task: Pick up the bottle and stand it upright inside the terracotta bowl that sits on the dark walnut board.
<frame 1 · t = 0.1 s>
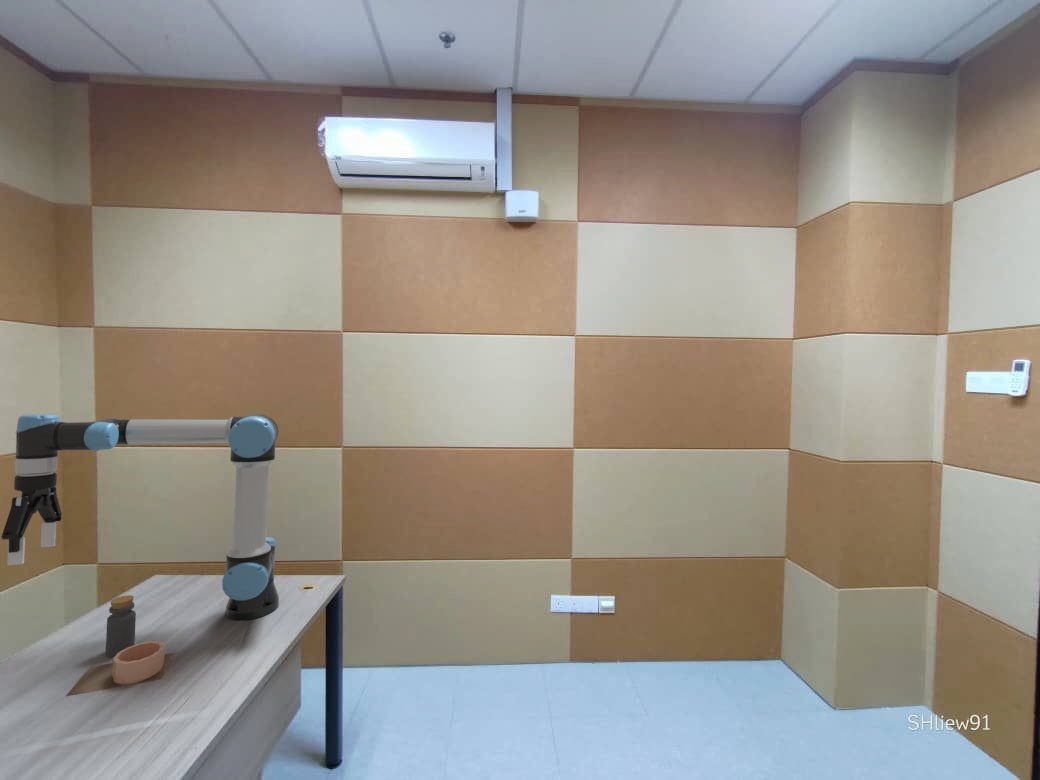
hand: (32, 555, 117), 28 cm above the table, fingers open, 13 cm apart
terracotta bowl: (138, 672, 113), resting on board
bottle: (120, 655, 121), on the table
board: (125, 676, 112), on the table
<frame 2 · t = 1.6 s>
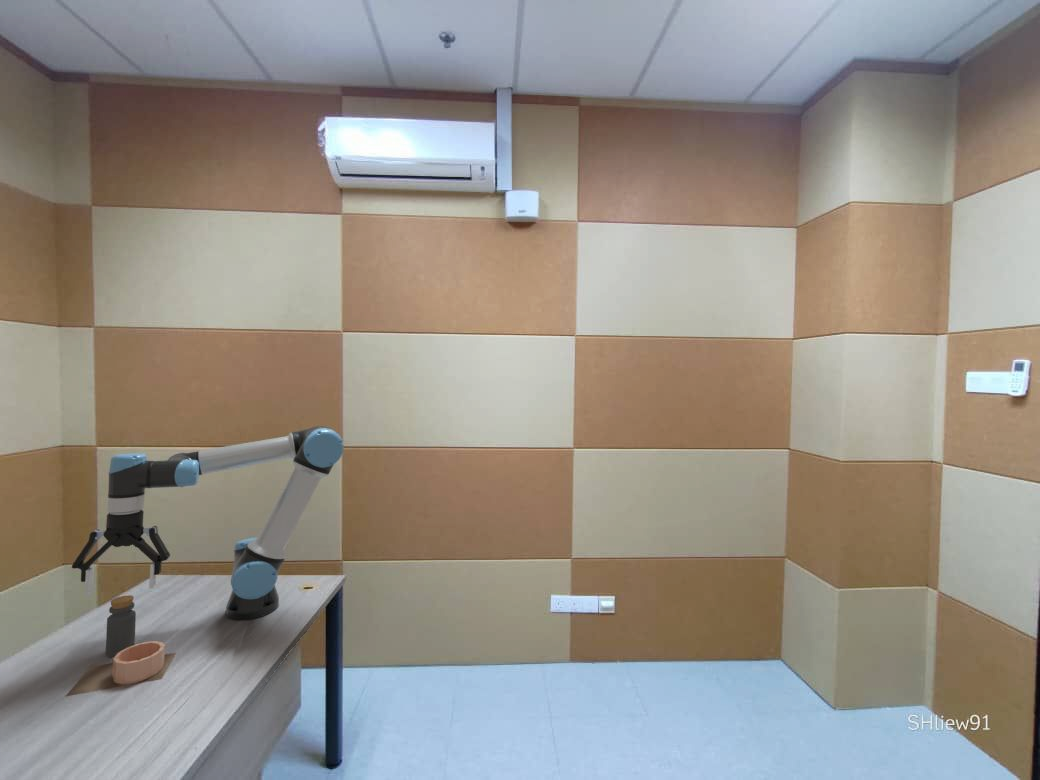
hand: (121, 589, 121), 18 cm above the table, fingers open, 13 cm apart
nothing on the table moved.
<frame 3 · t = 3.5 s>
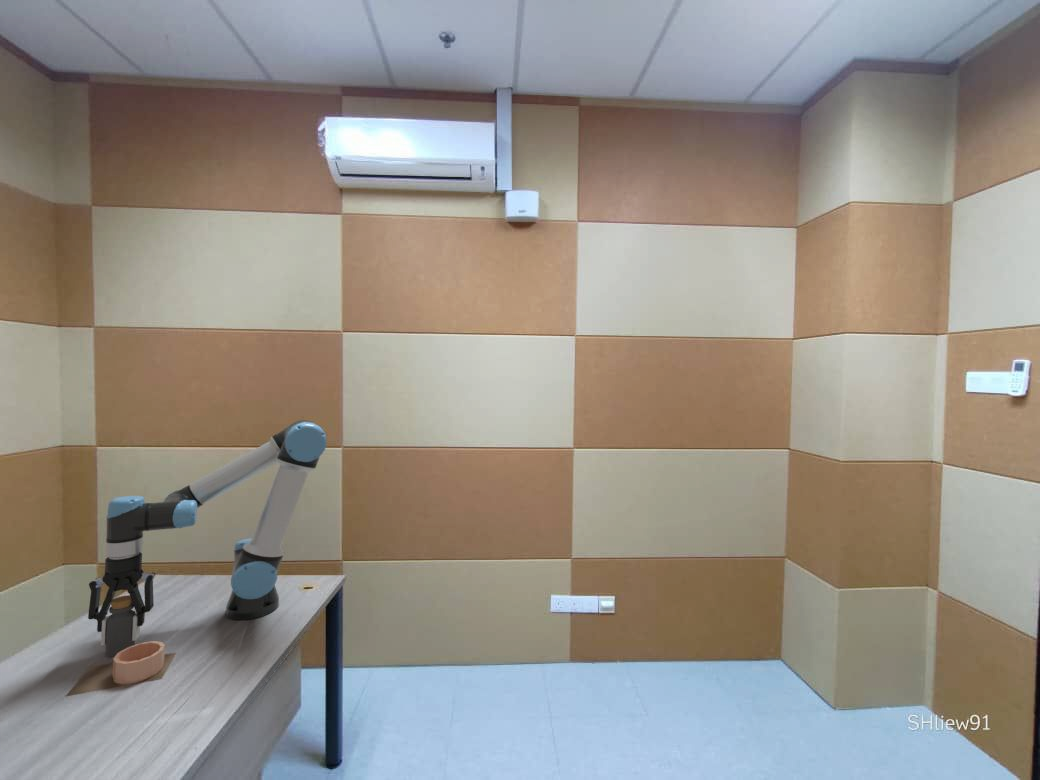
hand: (120, 640, 121), 4 cm above the table, fingers closed on bottle, 6 cm apart
bottle: (120, 655, 121), on the table, touching gripper
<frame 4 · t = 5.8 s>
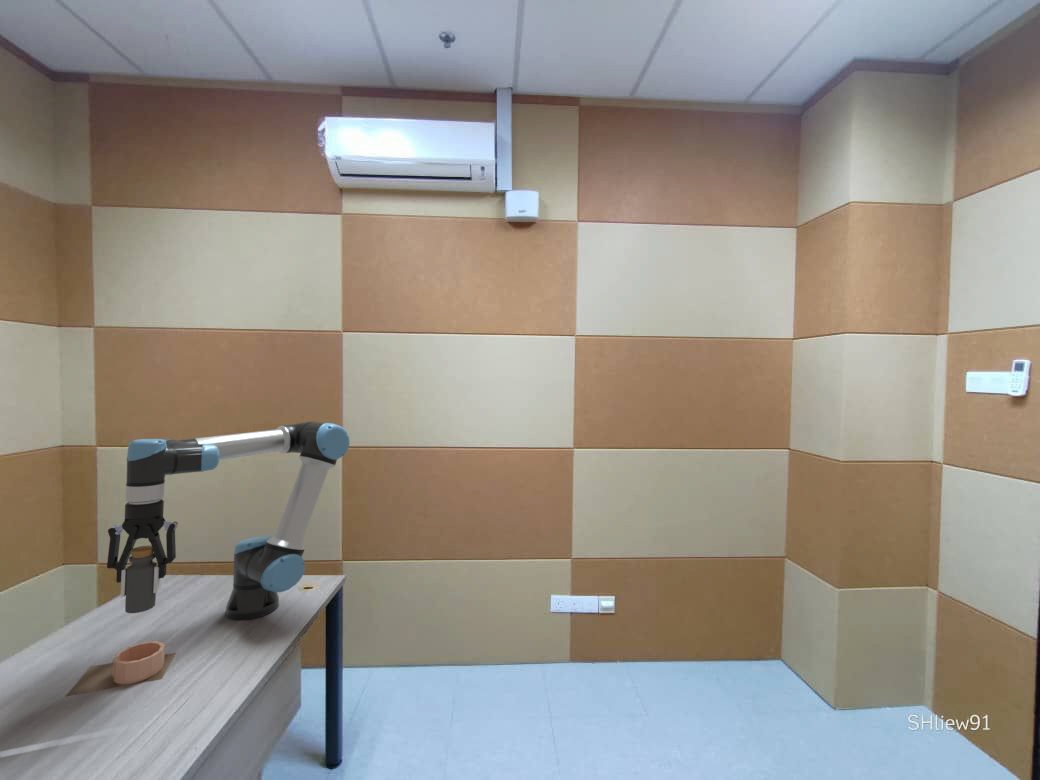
hand: (141, 592, 113), 21 cm above the table, fingers closed on bottle, 6 cm apart
bottle: (140, 608, 113), point 17 cm above the table, touching gripper
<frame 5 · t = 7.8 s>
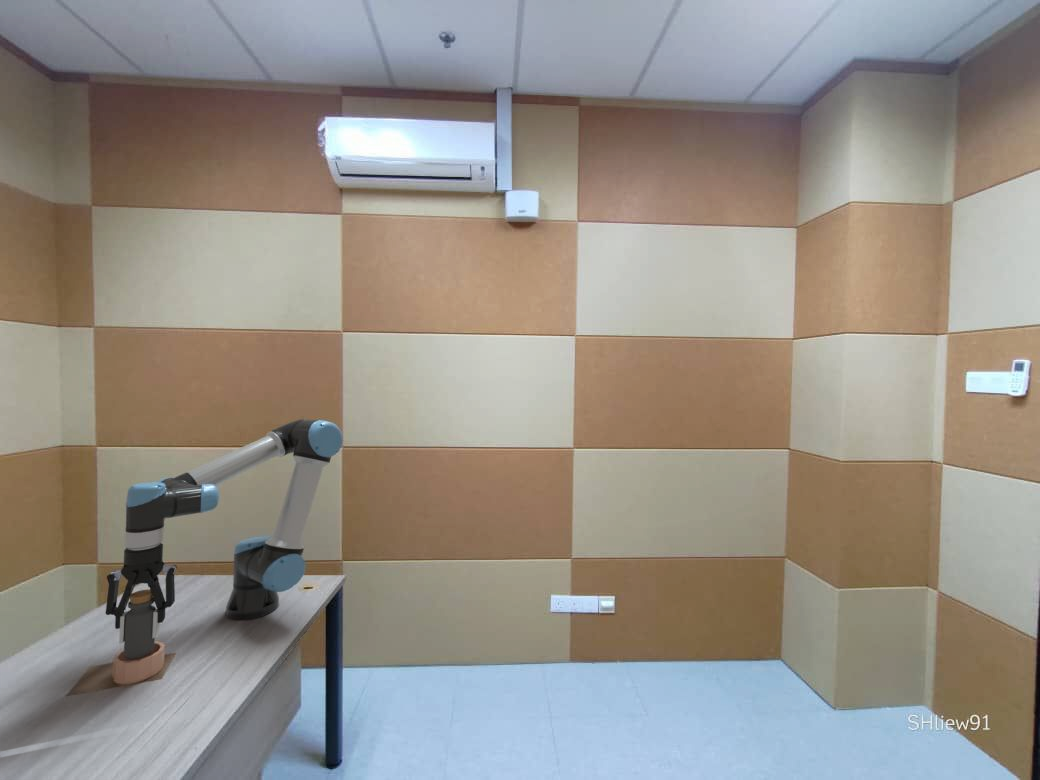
hand: (139, 637, 113), 10 cm above the table, fingers closed on bottle, 6 cm apart
bottle: (139, 654, 113), point 6 cm above the table, touching gripper
when the fingers open (8 cm above the table, at t = 8.6 s): bottle drops 2 cm, resting on terracotta bowl.
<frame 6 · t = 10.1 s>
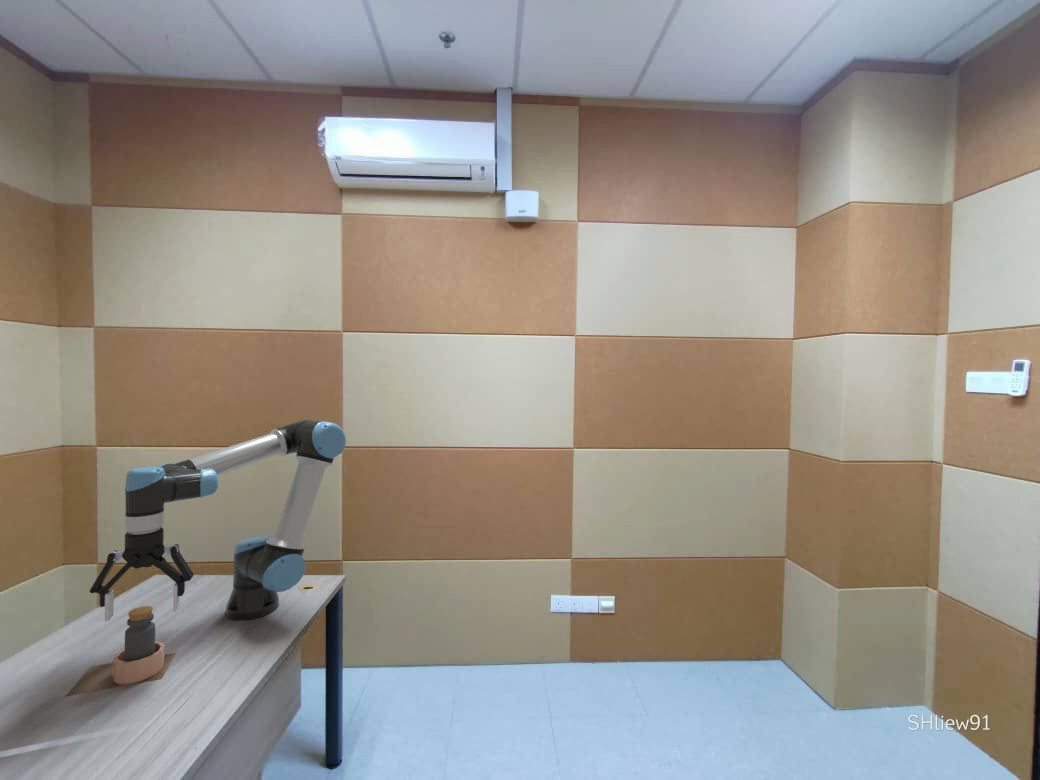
hand: (143, 613, 113), 16 cm above the table, fingers open, 13 cm apart
bottle: (139, 670, 113), point 1 cm above the table, touching terracotta bowl
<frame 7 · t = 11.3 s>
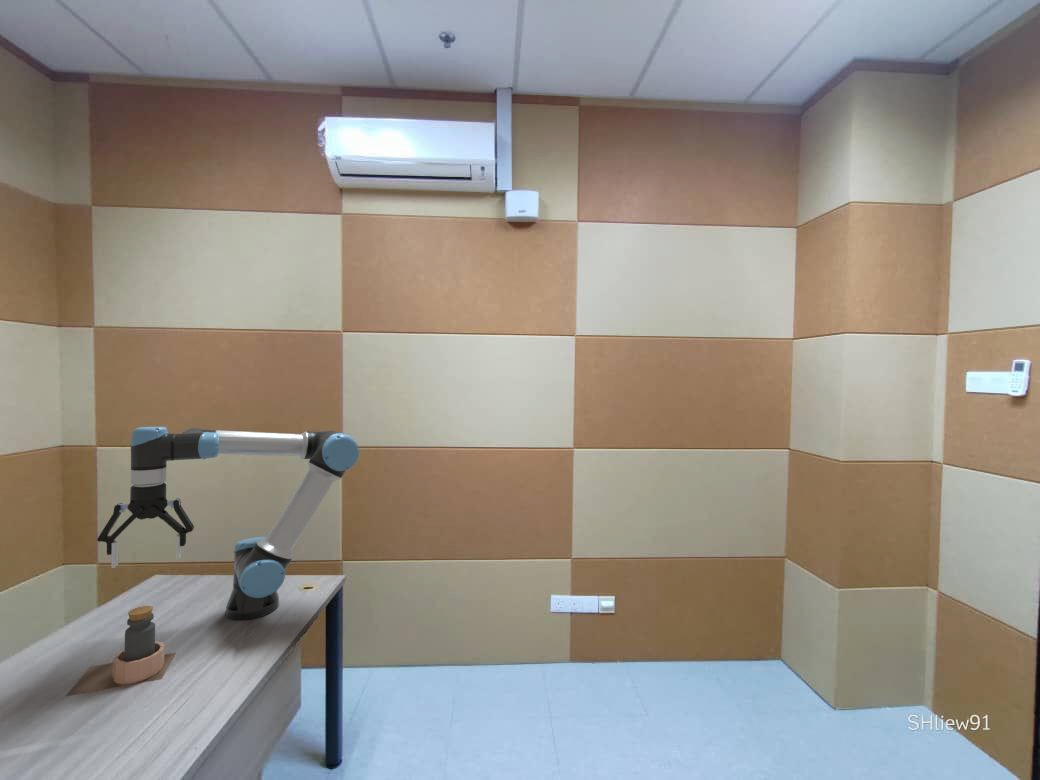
hand: (147, 562, 122), 25 cm above the table, fingers open, 13 cm apart
nothing on the table moved.
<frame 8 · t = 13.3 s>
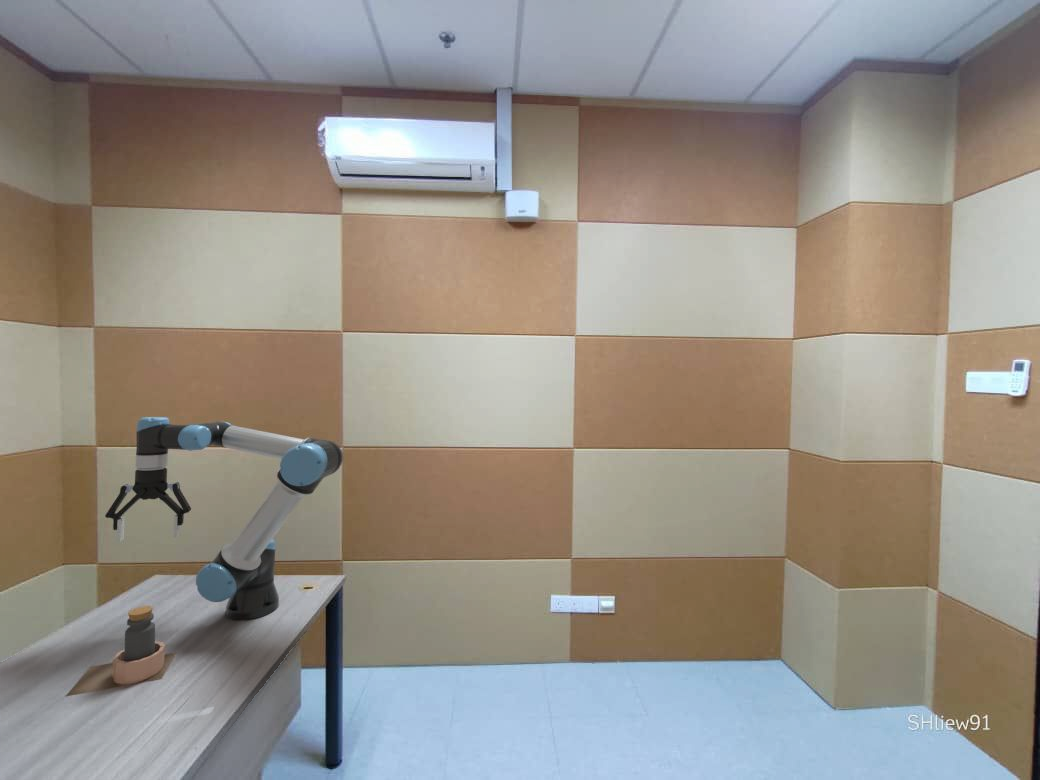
hand: (148, 538, 136), 27 cm above the table, fingers open, 13 cm apart
nothing on the table moved.
at the end: bottle 0.1 cm from the terracotta bowl (horizontally); bottle point 1.4 cm above the table; bottle tilted 1° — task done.
